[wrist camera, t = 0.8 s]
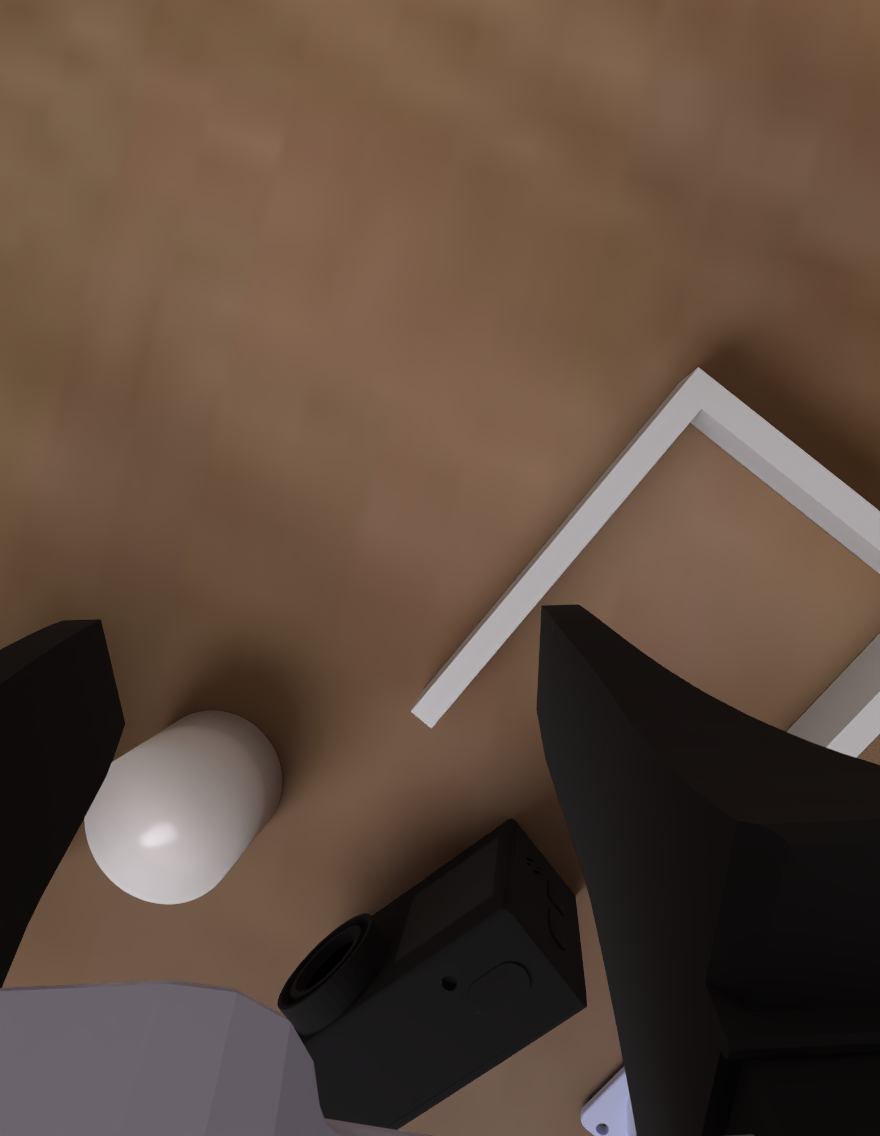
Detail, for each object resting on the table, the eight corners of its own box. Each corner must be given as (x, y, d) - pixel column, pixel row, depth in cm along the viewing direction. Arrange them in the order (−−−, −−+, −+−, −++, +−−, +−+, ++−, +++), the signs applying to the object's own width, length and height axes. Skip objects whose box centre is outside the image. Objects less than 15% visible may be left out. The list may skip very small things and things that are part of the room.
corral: (951, 596, 28) (1001, 607, 25) (667, 893, 30) (682, 936, 27) (681, 380, 28) (698, 367, 25) (422, 690, 31) (410, 711, 28)
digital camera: (497, 791, 31) (486, 877, 24) (577, 893, 31) (590, 1008, 24) (311, 925, 32) (251, 1040, 26) (388, 1022, 32) (348, 1164, 26)
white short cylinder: (310, 771, 32) (269, 821, 27) (229, 869, 33) (175, 935, 28) (203, 682, 32) (143, 716, 27) (126, 782, 33) (55, 832, 28)
